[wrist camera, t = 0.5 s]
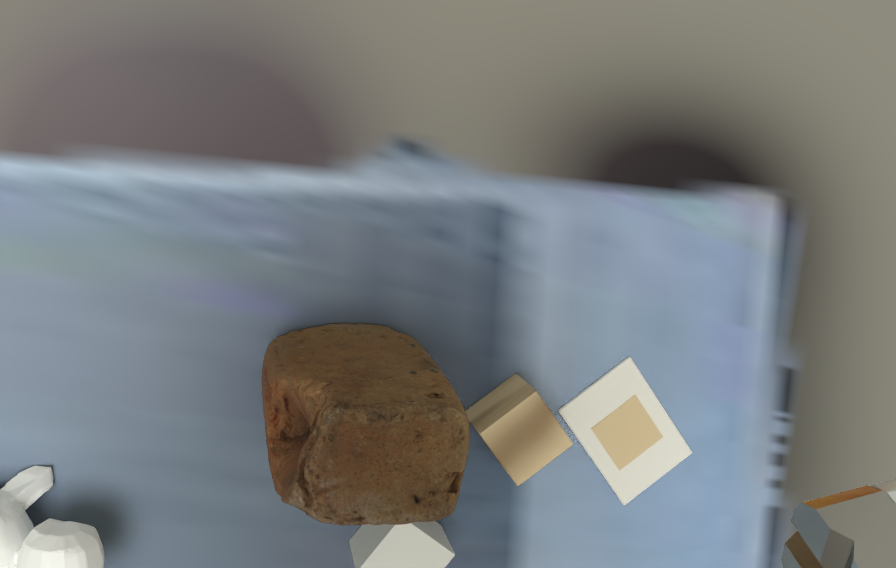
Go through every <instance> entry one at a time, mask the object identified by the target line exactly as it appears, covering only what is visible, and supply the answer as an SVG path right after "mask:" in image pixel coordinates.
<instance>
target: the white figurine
mask: <svg viewBox="0 0 896 568" xmlns="http://www.w3.org/2000/svg"><path fill="white" fill-rule="evenodd" d="M52 486H53V473H52V469H51V467H45V466H33V467H30V468H28V469H25V470H24V471H22V472H20V473H18V474H17V476H15V477H14V478H12V479H11V480H10V481H9V482H7V483H6V486H4V487H3V488H2V489H0V568H103V567H104V550H103V545H102V543H101V540H100V537H99V535H98V532H97V530H96V528H95V527H93V526H90V525H87V524H83V523H78V522H73V521H66V522H64V521H60V520H55V519H51V518H49V519H47V520H46V521H44V522H42V523H41V524H39V525H37V526H36V527H34V526H33V523H32V521H31V520H30V518H29V517H28V515H27V513H26V511H25V510H26V509H28V507H29V506H30V505H32V504H33V503H34V502H35V501H36V500H37V499H38V498H39V497H40V496H41V495H42V494H44V493H45V492H47V491H48V490H49V489H50V488H51V487H52Z"/></svg>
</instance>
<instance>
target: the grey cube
mask: <svg viewBox="0 0 896 568" xmlns="http://www.w3.org/2000/svg"><path fill="white" fill-rule="evenodd" d="M349 544H350V548H351V552H352V557H353V561H354V566H355V568H445V567H446V566H447V564H448V563H449V562H450V561H451V559H452V558H453V557H454V556H455V553H454V551H453V549H452V547H451V545H450V543H449V541H448V539H447V537H446V535H445V533H444V530H443V528H442V526H441V525H440V524H439V523H437V522H436V521H430V522H413V523H409V524H402V525H388V524H382V525H372V524H364V525H362V526H361V527H360V528H359V529H358V531H357V532H356V533H355V534H354V535H353V537H352V538H351V539H350V540H349Z"/></svg>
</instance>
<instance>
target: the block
mask: <svg viewBox="0 0 896 568" xmlns="http://www.w3.org/2000/svg"><path fill="white" fill-rule="evenodd" d="M262 396H263V409H264V419H265V429H266V438H267V439H266V441H267V448H268V457H269V465H270V471H271V474H272V478H273V482H274V486H275V490H276V492H277V493H278V495H280V496H281V498H282V501H283V502H284V503H287V504H290V505H292V506H295V507H297V508H298V509H300V510H302V511H304V512H305V513H306V514H307V515H308V516H310V517H312V518H314V519H316V520H318V521H320V522H323V523H330V524H337V525H364V524H372V525H382V524H388V525H402V524H409V523H413V522H430V521H438V520H440V519H443V518H445V517H447V516H449V515H451V514H452V513H453V512H454V510H455V506H456V503H457V499H458V495H459V491H460V485H461V480H462V476H463V473H464V469H465V465H466V461H467V456H468V450H469V437H470V432H469V421H468V418H467V414H466V412H465V410H464V407H463V405H462V403H461V401H460V400H459V398H458V395H457V393H456V392H455V390H454V388H453V387H452V386H451V384H450V383H449V381H448V379H447V378H446V376H445V375H444V374H443V372H442V371H441V369H440V368H439V367H438V366H437V364H436V363H435V362H434V360H433V359H432V358H431V357H430V355H429V354H428V353H427V351H426V350H425V349H424V348H423V347H422V346H421V345H420V344H419V343H418V342H417V341H416V340H415V339H414V338H412V337H411V336H409V335H406V334H403V333H400V332H396V331H394V330H392V329H391V328H389V327H387V326H381V325H373V324H362V323H354V324H350V323H341V324H327V325H324V326H318V327H310V328H306V329H302V330H299V331H290V332H289V333H287V334H285V335H283V336H278V337H277V338H276V339H274V340H273V341H272V342H271V343H270V345H269V346H268V348H267V350H266V353H265V357H264V361H263V369H262Z"/></svg>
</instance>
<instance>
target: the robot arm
mask: <svg viewBox="0 0 896 568" xmlns="http://www.w3.org/2000/svg"><path fill="white" fill-rule="evenodd" d="M791 522H792V523H793V525H794V526H795V528H796V529H797V531H796V532H795V533H794V534H793V535H792V536H791V537H790V538H789V539H788V540H787V541H786V542H785V545H784V550H783V555H782V559H781V560H782V565H783V568H896V479H894V480H890V481H886V482H883V483H878V484H874V485H871V486H868V485H867V486H863V487H859V488H855V489H851V490H848V491H844V492H840V493H836V494H832V495H829V496H825V497H821V498H817V499H813V500H809V501H806V502H802V503H801V504H799V505H798V506H797V507H796V508H795V509H794V512H793V515H792V519H791Z"/></svg>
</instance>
